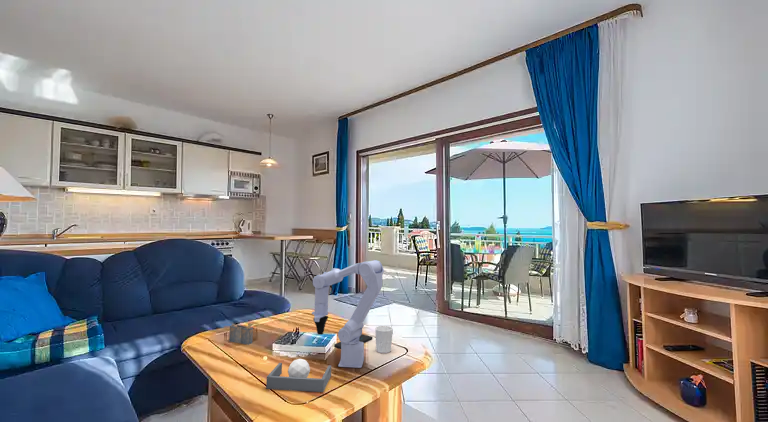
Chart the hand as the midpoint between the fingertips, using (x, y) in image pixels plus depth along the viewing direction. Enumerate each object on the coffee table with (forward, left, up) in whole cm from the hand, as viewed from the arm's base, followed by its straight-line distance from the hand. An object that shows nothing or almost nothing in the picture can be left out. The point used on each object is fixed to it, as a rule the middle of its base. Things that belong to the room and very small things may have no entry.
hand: (320, 333), depth 145 cm
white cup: (-27, -10, -10) cm, 30 cm away
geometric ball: (+2, +23, -10) cm, 25 cm away
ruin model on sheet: (+41, -11, -10) cm, 44 cm away
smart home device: (-12, -18, -10) cm, 24 cm away
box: (+1, +24, -9) cm, 26 cm away
